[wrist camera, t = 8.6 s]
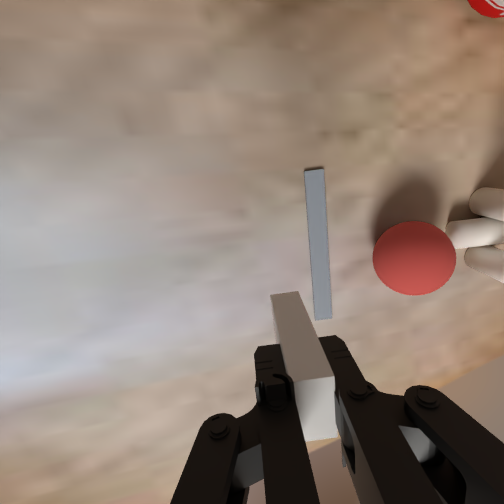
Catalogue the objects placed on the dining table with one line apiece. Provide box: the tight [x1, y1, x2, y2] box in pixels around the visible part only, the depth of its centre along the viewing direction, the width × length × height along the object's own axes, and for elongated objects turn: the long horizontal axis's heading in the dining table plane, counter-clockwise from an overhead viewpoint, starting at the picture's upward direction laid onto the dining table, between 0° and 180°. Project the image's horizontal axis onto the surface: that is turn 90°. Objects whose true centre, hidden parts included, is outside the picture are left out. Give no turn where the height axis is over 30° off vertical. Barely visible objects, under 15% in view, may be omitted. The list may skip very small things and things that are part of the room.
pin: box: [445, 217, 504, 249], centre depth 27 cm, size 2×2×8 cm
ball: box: [373, 221, 456, 295], centre depth 26 cm, size 6×6×6 cm
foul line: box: [304, 169, 332, 320], centre depth 28 cm, size 14×2×1 cm, turn 7°
